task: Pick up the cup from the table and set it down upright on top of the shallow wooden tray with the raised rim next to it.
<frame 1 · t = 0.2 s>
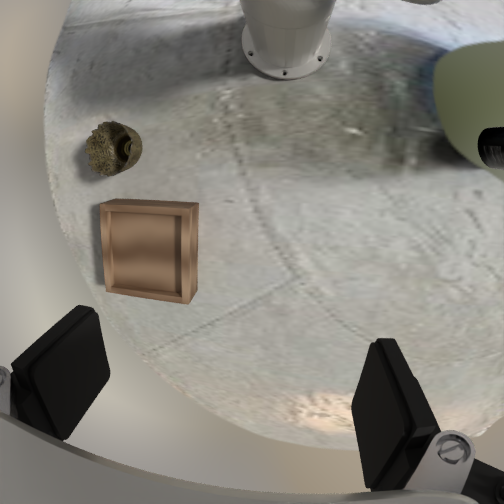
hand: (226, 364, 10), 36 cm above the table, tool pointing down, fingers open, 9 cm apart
shallow wooden tray: (156, 243, 48), on the table
supplement bottle: (490, 147, 38), on the table
cup: (133, 148, 44), on the table
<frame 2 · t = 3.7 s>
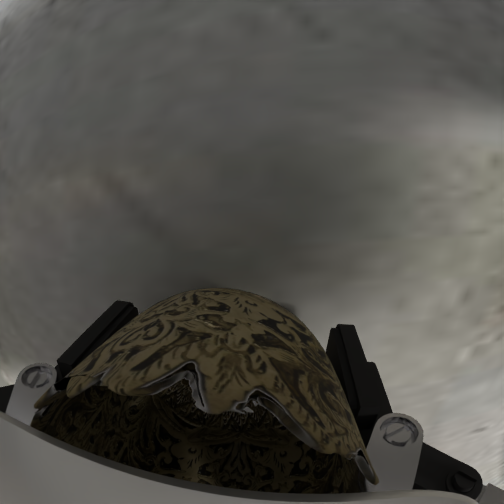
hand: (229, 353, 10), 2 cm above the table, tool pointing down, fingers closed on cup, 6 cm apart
cup: (238, 324, 12), on the table, touching gripper
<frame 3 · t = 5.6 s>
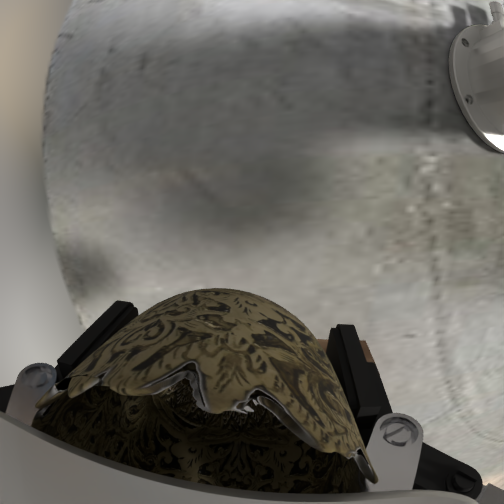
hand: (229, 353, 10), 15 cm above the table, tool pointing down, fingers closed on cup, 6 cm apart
cup: (237, 324, 12), point 13 cm above the table, touching gripper
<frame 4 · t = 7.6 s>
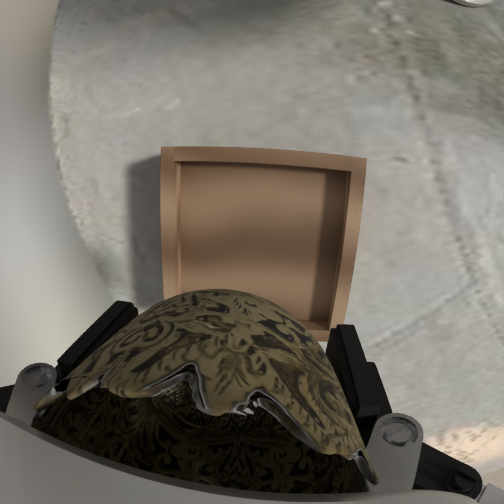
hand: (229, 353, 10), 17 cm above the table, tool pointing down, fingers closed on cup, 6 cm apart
shallow wooden tray: (261, 231, 27), on the table
cup: (237, 325, 12), point 15 cm above the table, touching gripper
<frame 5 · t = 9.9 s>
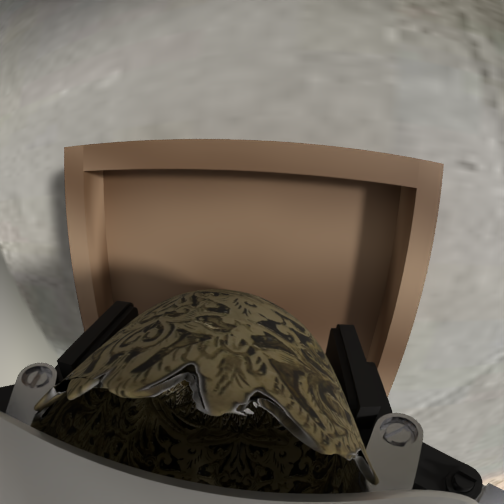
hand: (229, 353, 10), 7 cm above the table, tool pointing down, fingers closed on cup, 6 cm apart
shallow wooden tray: (249, 278, 17), on the table
cup: (237, 325, 12), point 5 cm above the table, touching gripper
when the fingers open (6 cm above the table, at t = 11.5 s): cup stays where it is, resting on shallow wooden tray.
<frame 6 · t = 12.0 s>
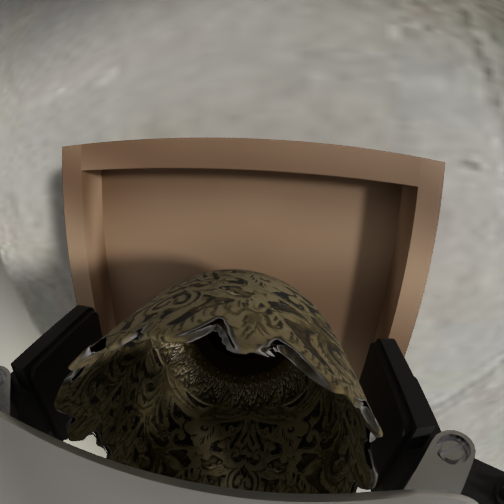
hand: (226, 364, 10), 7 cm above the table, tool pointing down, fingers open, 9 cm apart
shallow wooden tray: (249, 279, 17), on the table, touching cup
cup: (248, 309, 13), point 3 cm above the table, touching shallow wooden tray
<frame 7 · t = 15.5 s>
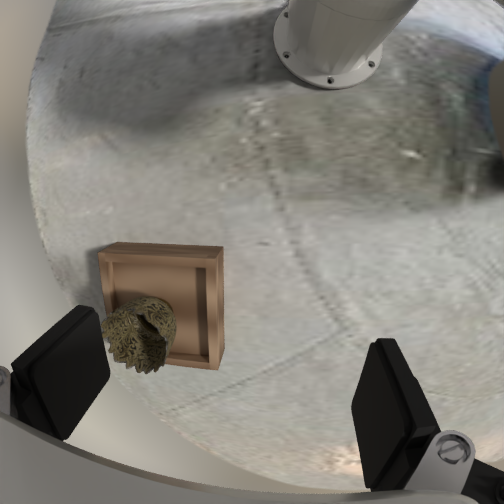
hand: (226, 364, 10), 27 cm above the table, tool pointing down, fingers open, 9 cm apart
shallow wooden tray: (171, 295, 40), on the table, touching cup
cup: (161, 308, 36), point 3 cm above the table, touching shallow wooden tray
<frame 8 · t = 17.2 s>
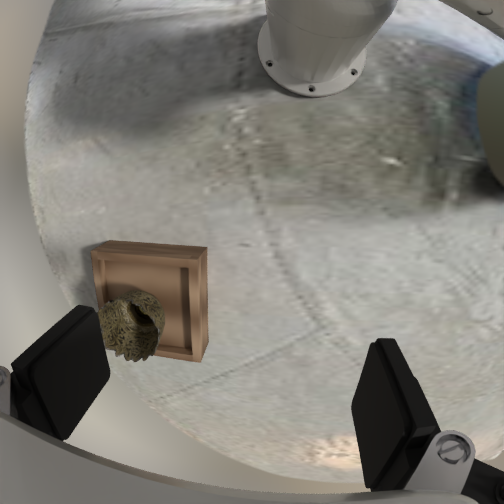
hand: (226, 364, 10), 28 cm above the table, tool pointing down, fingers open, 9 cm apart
shallow wooden tray: (159, 291, 42), on the table, touching cup
cup: (149, 303, 38), point 3 cm above the table, touching shallow wooden tray
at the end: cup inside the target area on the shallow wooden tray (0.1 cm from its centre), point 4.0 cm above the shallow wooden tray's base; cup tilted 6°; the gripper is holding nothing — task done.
